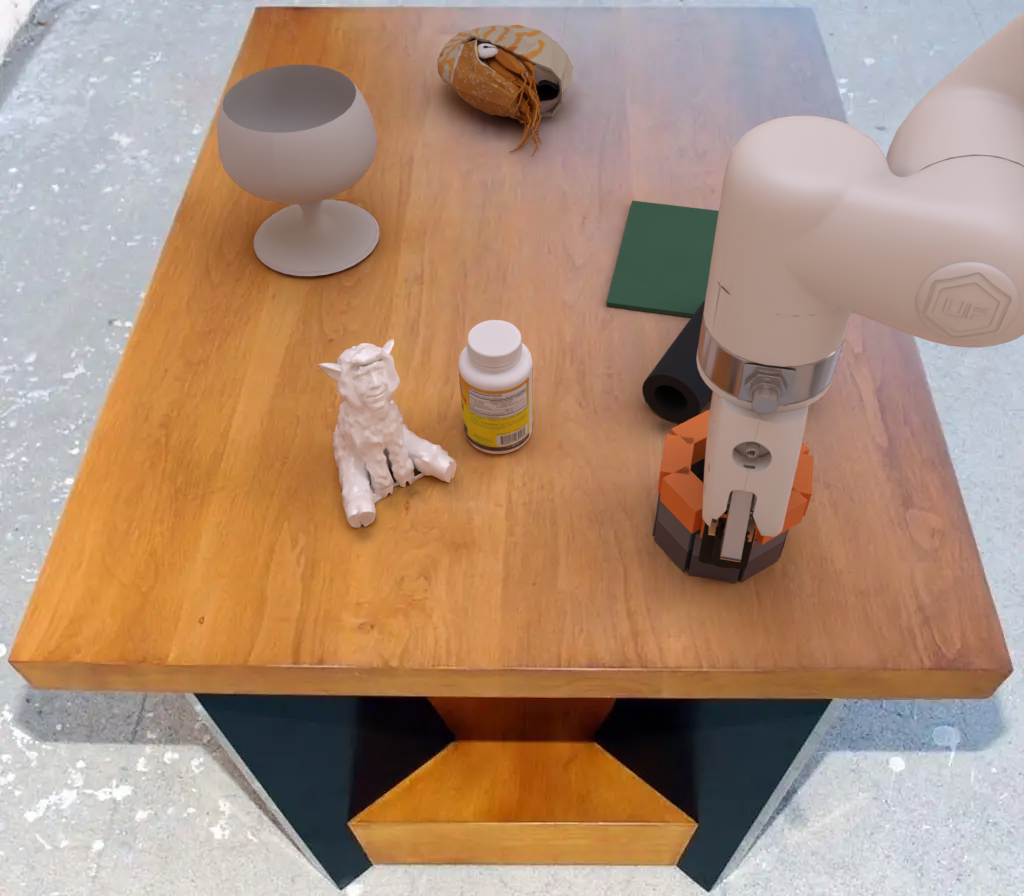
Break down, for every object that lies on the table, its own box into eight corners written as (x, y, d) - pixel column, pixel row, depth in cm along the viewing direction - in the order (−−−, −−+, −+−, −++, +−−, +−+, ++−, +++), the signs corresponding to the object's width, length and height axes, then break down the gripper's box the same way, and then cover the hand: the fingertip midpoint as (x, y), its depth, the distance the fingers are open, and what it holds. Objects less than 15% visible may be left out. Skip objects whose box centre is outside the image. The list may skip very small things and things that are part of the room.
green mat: (794, 223, 98) (795, 219, 98) (786, 330, 88) (788, 326, 88) (631, 204, 101) (632, 200, 101) (606, 306, 91) (606, 302, 90)
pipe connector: (855, 300, 82) (784, 419, 74) (841, 347, 86) (772, 465, 78) (724, 256, 86) (644, 364, 78) (717, 303, 90) (640, 410, 82)
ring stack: (784, 491, 76) (796, 449, 73) (778, 591, 70) (791, 550, 67) (662, 471, 78) (669, 429, 74) (646, 568, 72) (653, 527, 68)
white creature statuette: (355, 537, 74) (330, 425, 65) (299, 465, 79) (269, 352, 70) (461, 478, 77) (452, 364, 69) (402, 413, 82) (386, 299, 73)
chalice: (369, 292, 92) (347, 147, 81) (224, 279, 94) (182, 134, 83) (403, 203, 102) (387, 62, 90) (271, 193, 103) (239, 53, 92)
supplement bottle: (481, 399, 83) (476, 303, 75) (543, 418, 81) (544, 323, 74) (451, 445, 80) (443, 350, 72) (515, 466, 78) (513, 371, 70)
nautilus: (587, 168, 106) (445, 182, 106) (566, 57, 119) (440, 69, 119) (587, 102, 100) (436, 116, 100) (564, -7, 113) (432, 5, 113)
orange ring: (808, 443, 72) (814, 421, 71) (803, 555, 66) (810, 532, 64) (668, 423, 74) (671, 401, 72) (650, 530, 68) (653, 508, 66)
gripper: (837, 463, 49) (773, 656, 63) (840, 263, 60) (785, 466, 73) (683, 441, 50) (654, 635, 64) (712, 249, 61) (682, 451, 75)
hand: (724, 543), depth 69 cm, fingers closed on orange ring, 2 cm apart
